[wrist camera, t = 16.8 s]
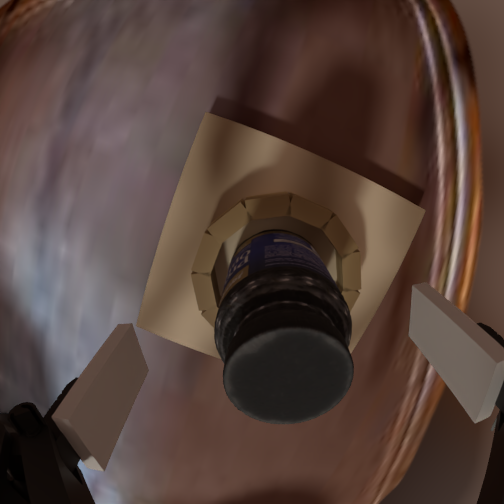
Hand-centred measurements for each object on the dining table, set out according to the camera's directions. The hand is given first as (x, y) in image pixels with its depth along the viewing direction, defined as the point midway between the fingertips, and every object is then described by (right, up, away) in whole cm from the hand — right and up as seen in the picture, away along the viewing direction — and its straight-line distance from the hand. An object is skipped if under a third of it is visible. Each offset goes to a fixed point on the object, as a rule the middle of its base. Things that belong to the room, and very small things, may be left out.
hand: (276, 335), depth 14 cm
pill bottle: (0, +2, +7) cm, 8 cm away
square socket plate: (+1, +3, +8) cm, 9 cm away
